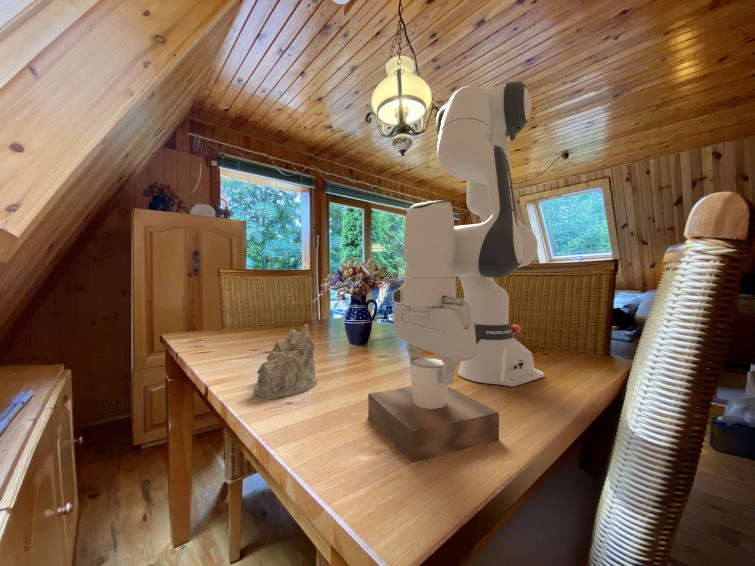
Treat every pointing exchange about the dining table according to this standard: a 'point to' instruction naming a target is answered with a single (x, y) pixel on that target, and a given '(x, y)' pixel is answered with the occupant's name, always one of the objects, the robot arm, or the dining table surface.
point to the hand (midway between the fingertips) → (429, 374)
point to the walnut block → (432, 423)
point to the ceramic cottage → (288, 367)
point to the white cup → (428, 383)
